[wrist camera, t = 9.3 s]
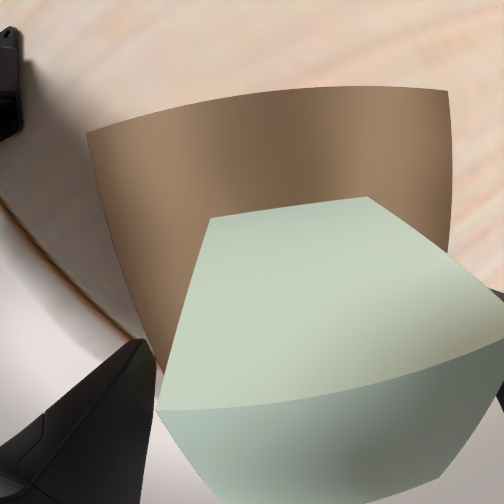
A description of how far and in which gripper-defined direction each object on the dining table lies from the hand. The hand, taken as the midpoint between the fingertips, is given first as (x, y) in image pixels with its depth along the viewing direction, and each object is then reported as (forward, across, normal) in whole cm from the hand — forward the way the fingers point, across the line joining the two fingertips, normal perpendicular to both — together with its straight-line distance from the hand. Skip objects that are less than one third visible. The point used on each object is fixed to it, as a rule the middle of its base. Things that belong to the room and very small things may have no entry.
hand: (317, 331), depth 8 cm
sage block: (+3, 0, 0) cm, 3 cm away
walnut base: (+7, 0, 0) cm, 7 cm away
